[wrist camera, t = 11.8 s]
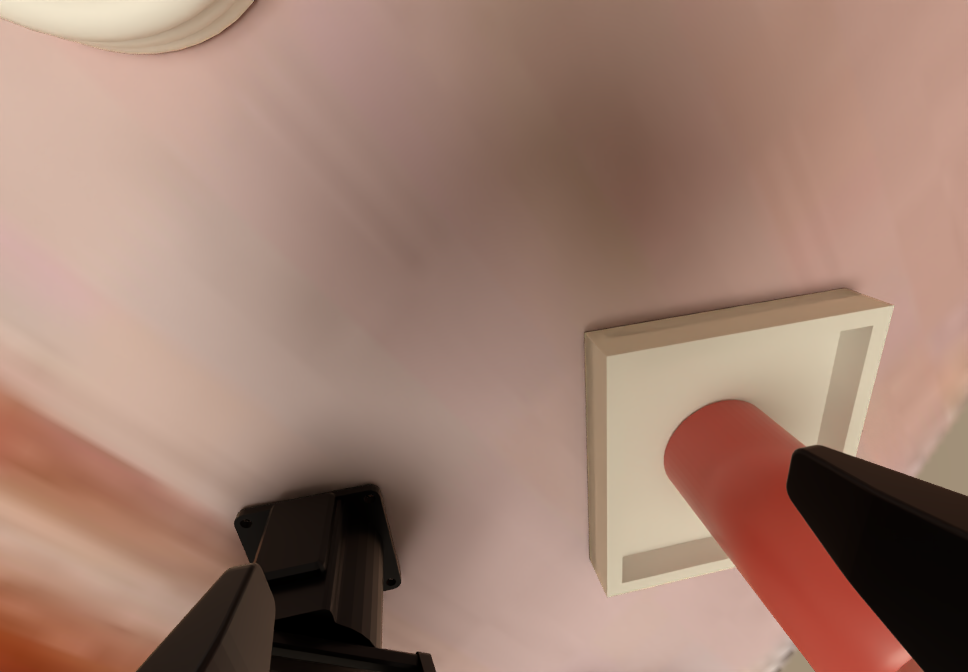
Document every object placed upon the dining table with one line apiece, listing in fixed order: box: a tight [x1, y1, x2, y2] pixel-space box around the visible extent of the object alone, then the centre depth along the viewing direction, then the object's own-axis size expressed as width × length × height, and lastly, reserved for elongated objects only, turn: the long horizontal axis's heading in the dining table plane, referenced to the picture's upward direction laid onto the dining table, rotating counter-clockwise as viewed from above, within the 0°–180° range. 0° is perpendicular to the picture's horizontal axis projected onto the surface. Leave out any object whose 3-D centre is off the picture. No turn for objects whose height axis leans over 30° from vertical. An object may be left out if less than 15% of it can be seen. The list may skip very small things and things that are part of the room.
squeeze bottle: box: [664, 400, 924, 672], centre depth 18 cm, size 6×6×15 cm
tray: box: [584, 288, 894, 598], centre depth 24 cm, size 14×13×2 cm
